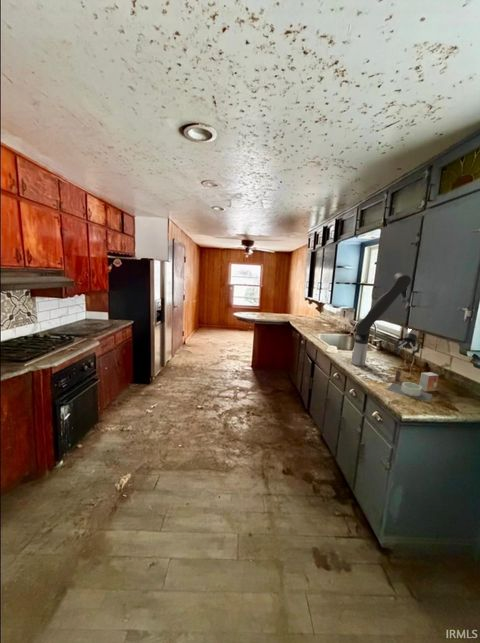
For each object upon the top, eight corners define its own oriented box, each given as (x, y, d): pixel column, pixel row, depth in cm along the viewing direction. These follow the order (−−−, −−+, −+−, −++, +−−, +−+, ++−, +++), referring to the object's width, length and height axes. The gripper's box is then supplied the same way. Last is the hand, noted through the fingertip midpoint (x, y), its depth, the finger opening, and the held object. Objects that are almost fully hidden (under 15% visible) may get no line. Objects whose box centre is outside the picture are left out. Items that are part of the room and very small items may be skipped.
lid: (384, 381, 191) (386, 370, 189) (389, 377, 199) (391, 366, 198) (404, 387, 183) (406, 375, 181) (409, 382, 192) (411, 370, 190)
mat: (386, 390, 176) (386, 389, 176) (392, 384, 187) (392, 383, 186) (428, 402, 162) (428, 402, 162) (432, 395, 172) (432, 394, 172)
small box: (425, 392, 176) (428, 375, 174) (418, 388, 182) (420, 372, 180) (436, 391, 179) (439, 375, 176) (428, 387, 184) (431, 371, 182)
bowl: (399, 392, 172) (400, 385, 171) (403, 388, 180) (404, 380, 179) (418, 398, 166) (419, 390, 165) (421, 393, 173) (423, 385, 172)
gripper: (399, 330, 204) (392, 349, 198) (423, 334, 195) (416, 354, 188) (400, 337, 209) (393, 355, 203) (423, 341, 200) (417, 360, 193)
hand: (404, 355), depth 196 cm, fingers open, 8 cm apart
